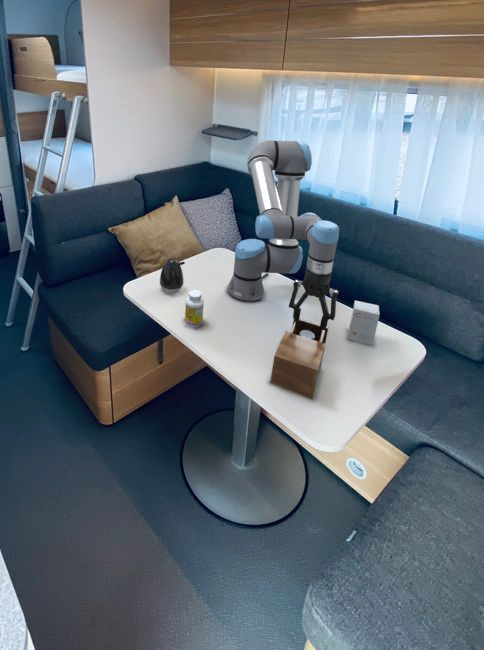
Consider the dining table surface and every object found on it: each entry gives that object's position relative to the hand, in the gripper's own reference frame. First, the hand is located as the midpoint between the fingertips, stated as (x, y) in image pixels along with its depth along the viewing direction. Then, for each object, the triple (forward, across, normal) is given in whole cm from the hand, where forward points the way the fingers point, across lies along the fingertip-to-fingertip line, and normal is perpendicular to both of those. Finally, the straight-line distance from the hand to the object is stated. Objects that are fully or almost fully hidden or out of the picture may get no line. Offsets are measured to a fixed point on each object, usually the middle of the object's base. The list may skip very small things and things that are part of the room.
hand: (308, 330), depth 136 cm
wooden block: (+9, 0, -13) cm, 16 cm away
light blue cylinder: (+8, 0, 0) cm, 8 cm away
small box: (+10, +16, +19) cm, 27 cm away
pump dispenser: (+10, -58, +12) cm, 60 cm away
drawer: (+9, 0, +1) cm, 9 cm away
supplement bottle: (+10, -40, -4) cm, 41 cm away
